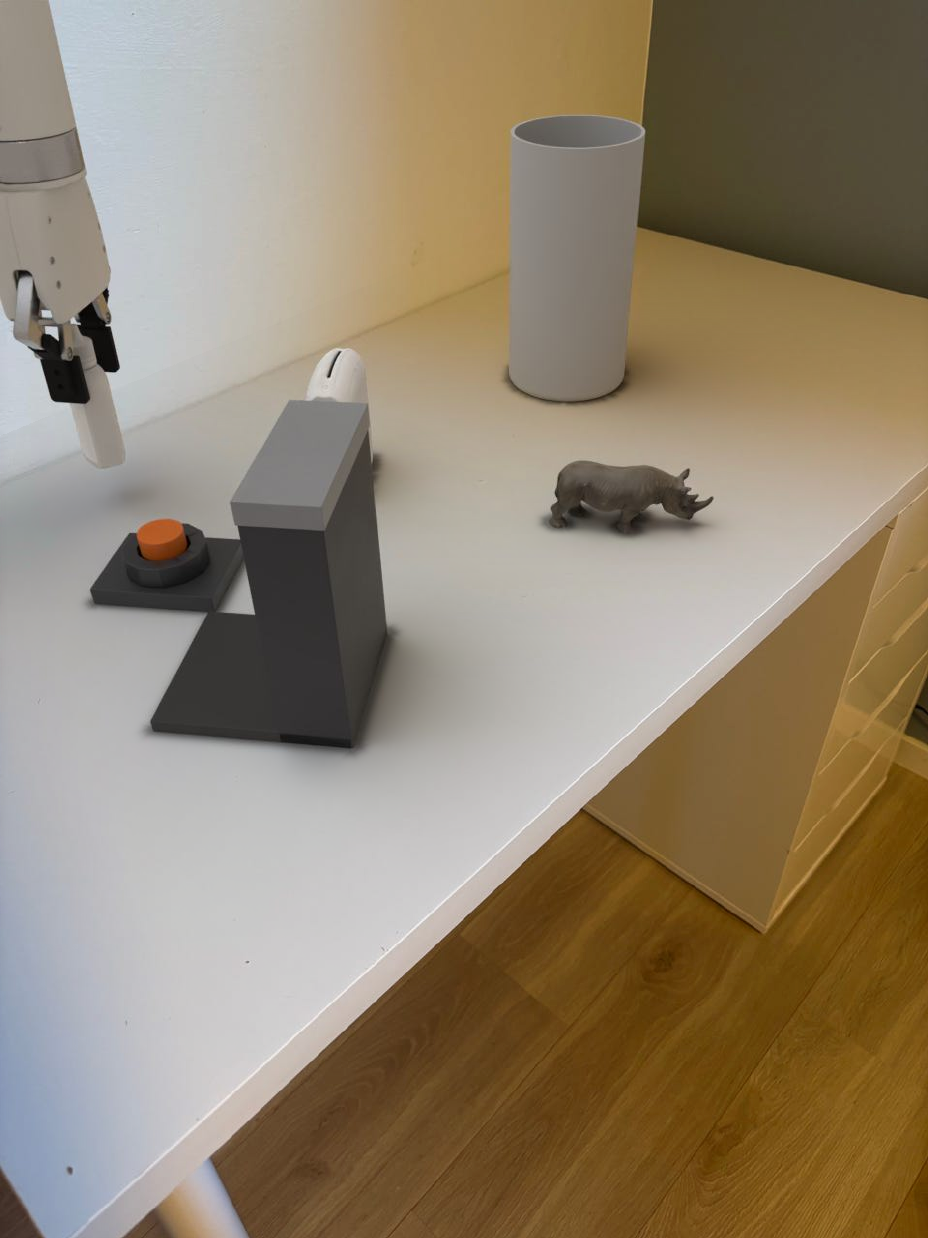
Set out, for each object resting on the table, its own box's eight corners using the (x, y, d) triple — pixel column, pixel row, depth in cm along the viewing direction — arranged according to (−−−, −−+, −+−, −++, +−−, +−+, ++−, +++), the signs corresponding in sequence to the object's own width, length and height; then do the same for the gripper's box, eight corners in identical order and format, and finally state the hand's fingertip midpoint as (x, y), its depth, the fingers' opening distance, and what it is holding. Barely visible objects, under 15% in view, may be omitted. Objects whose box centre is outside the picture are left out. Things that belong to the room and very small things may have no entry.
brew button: (134, 560, 79) (129, 542, 77) (151, 535, 81) (146, 517, 80) (178, 563, 78) (173, 545, 77) (193, 537, 81) (189, 519, 80)
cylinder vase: (485, 377, 109) (483, 131, 93) (564, 344, 116) (575, 108, 100) (567, 416, 102) (580, 156, 86) (647, 379, 108) (673, 129, 92)
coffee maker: (152, 734, 68) (76, 492, 56) (211, 622, 77) (157, 393, 65) (354, 752, 66) (321, 506, 54) (389, 635, 76) (368, 402, 63)
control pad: (94, 606, 79) (83, 571, 77) (133, 548, 85) (124, 514, 83) (215, 614, 78) (207, 579, 76) (246, 555, 84) (239, 521, 82)
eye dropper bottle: (71, 471, 86) (34, 339, 79) (88, 440, 91) (54, 312, 83) (122, 470, 87) (90, 338, 79) (136, 439, 91) (107, 311, 83)
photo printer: (360, 516, 88) (347, 388, 81) (313, 514, 89) (295, 387, 81) (378, 457, 96) (367, 335, 89) (334, 456, 97) (320, 335, 89)
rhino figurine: (710, 543, 84) (720, 482, 80) (547, 533, 86) (550, 472, 82) (707, 516, 87) (717, 456, 83) (551, 507, 89) (553, 448, 85)
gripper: (35, 128, 80) (88, 342, 92) (-84, 187, 67) (-5, 430, 78) (124, 131, 79) (166, 347, 91) (21, 191, 66) (85, 436, 77)
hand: (86, 383), depth 84 cm, fingers closed on eye dropper bottle, 5 cm apart
